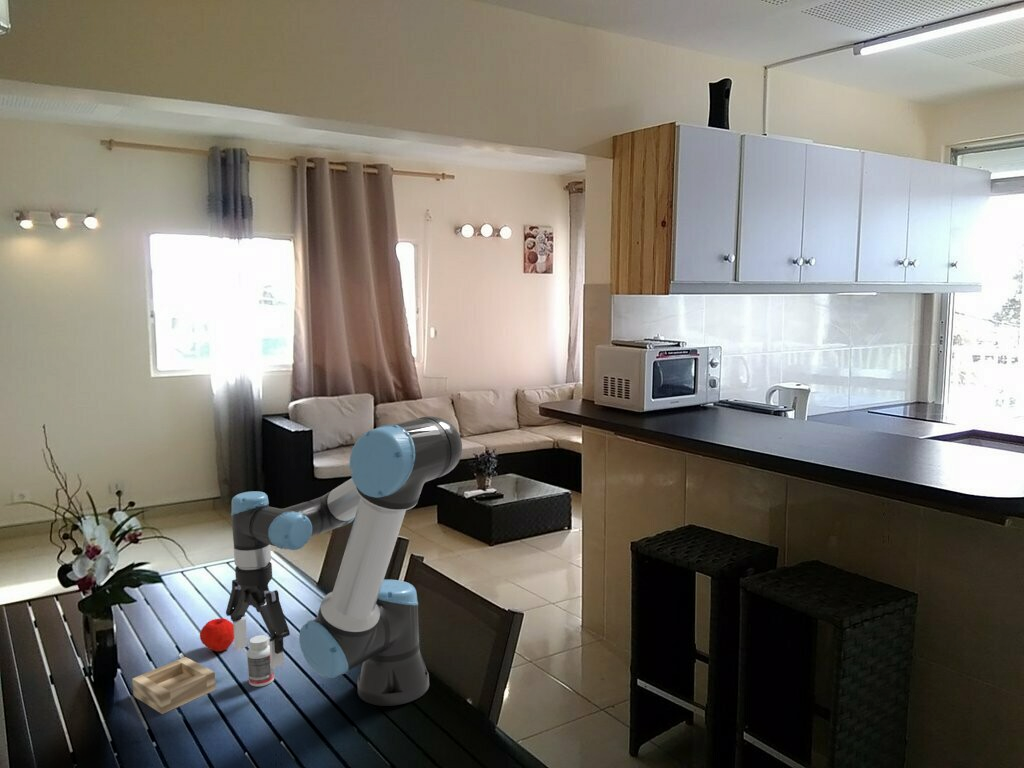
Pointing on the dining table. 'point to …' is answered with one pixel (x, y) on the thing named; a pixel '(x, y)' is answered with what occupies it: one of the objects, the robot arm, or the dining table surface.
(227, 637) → the apple
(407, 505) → the robot arm
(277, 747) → the dining table surface
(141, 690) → the maple holder
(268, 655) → the pill bottle
